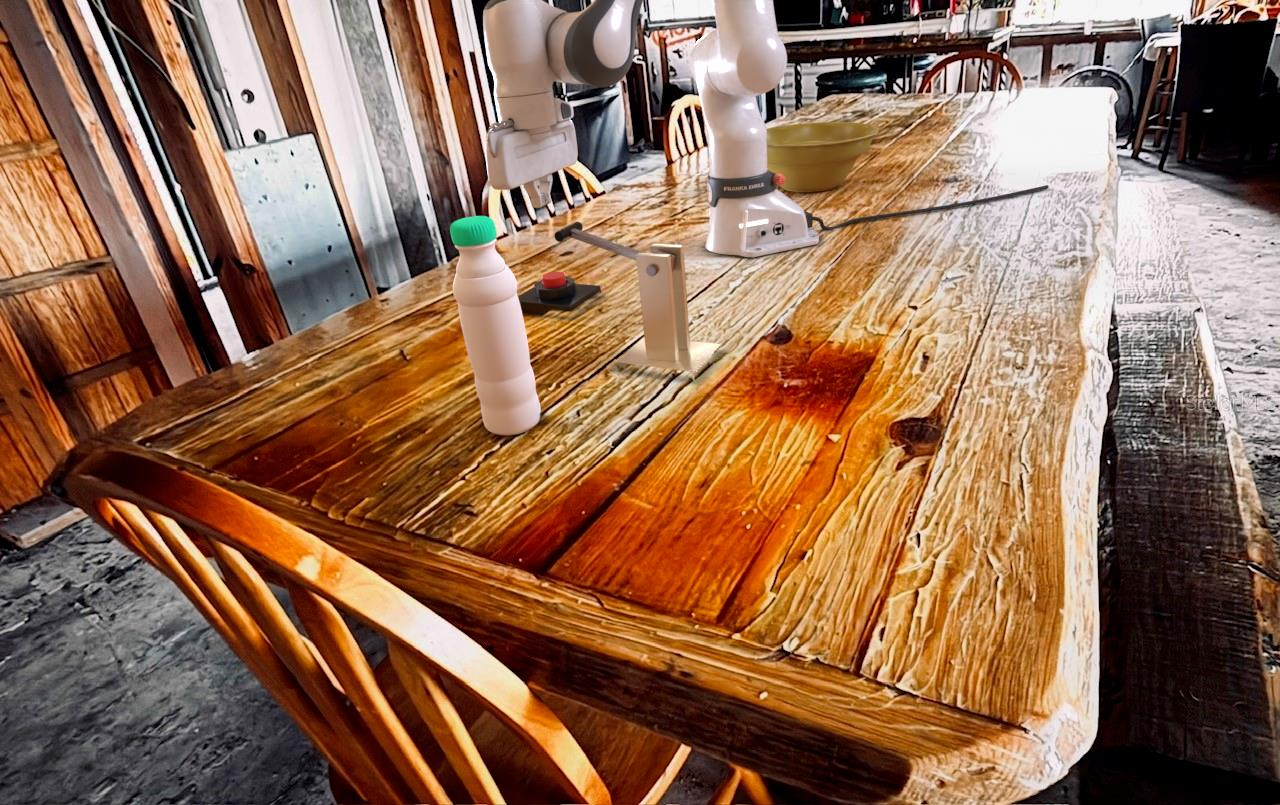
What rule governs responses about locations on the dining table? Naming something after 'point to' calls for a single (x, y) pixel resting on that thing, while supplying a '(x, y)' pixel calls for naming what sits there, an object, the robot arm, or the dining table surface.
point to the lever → (601, 242)
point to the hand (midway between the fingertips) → (542, 205)
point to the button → (553, 279)
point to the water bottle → (493, 329)
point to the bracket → (665, 315)
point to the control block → (556, 297)
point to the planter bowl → (816, 153)
